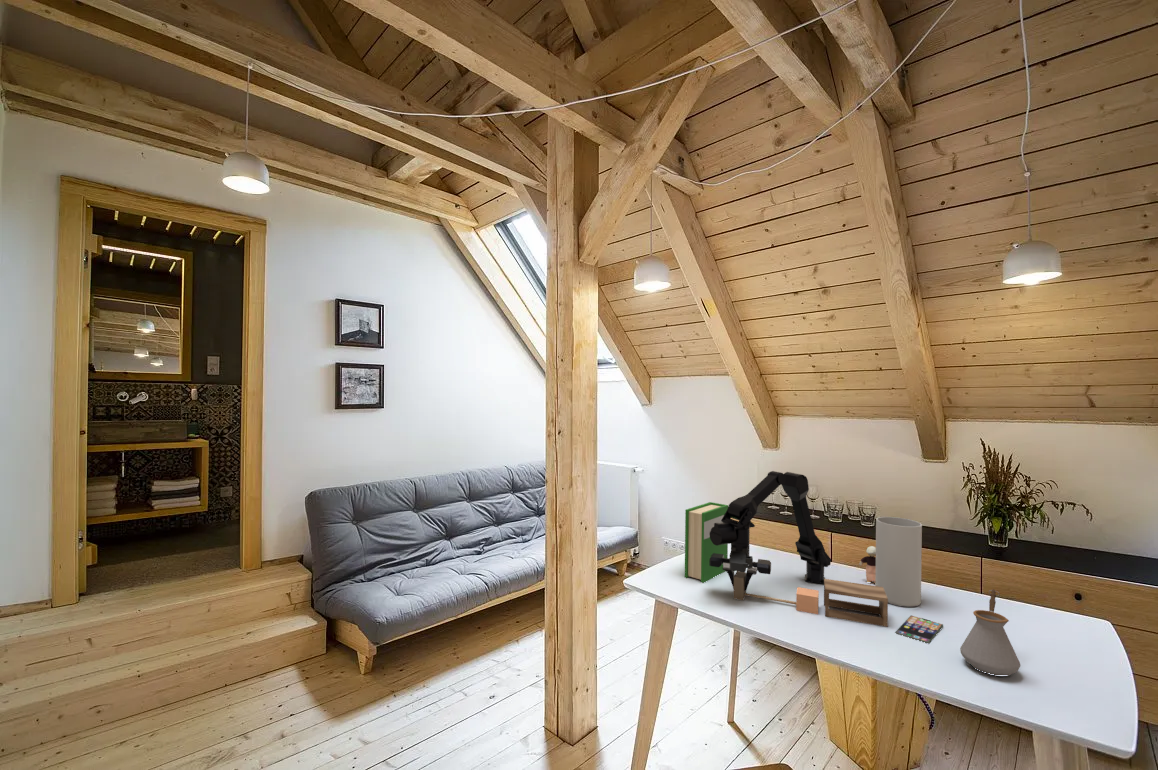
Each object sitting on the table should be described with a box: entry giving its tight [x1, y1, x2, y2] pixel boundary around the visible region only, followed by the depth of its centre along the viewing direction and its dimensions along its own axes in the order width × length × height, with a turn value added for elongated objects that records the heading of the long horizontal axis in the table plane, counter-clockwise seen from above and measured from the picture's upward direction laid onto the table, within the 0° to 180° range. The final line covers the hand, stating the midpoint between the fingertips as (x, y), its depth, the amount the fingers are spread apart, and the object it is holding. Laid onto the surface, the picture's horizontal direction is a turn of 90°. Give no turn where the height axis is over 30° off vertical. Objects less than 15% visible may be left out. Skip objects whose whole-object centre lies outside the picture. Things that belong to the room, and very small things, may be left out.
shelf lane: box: [823, 578, 889, 628], centre depth 155 cm, size 9×16×8 cm, turn 67°
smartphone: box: [894, 615, 944, 644], centre depth 146 cm, size 8×15×1 cm, turn 133°
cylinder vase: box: [874, 516, 923, 608], centre depth 167 cm, size 12×12×25 cm
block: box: [733, 571, 820, 615], centre depth 163 cm, size 6×24×7 cm, turn 64°
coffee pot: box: [959, 589, 1021, 676], centre depth 130 cm, size 21×12×15 cm, turn 138°
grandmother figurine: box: [858, 545, 876, 584], centre depth 181 cm, size 8×4×13 cm, turn 65°
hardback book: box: [684, 501, 729, 584], centre depth 188 cm, size 18×7×24 cm, turn 137°
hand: (739, 589), depth 168 cm, fingers closed on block, 3 cm apart
